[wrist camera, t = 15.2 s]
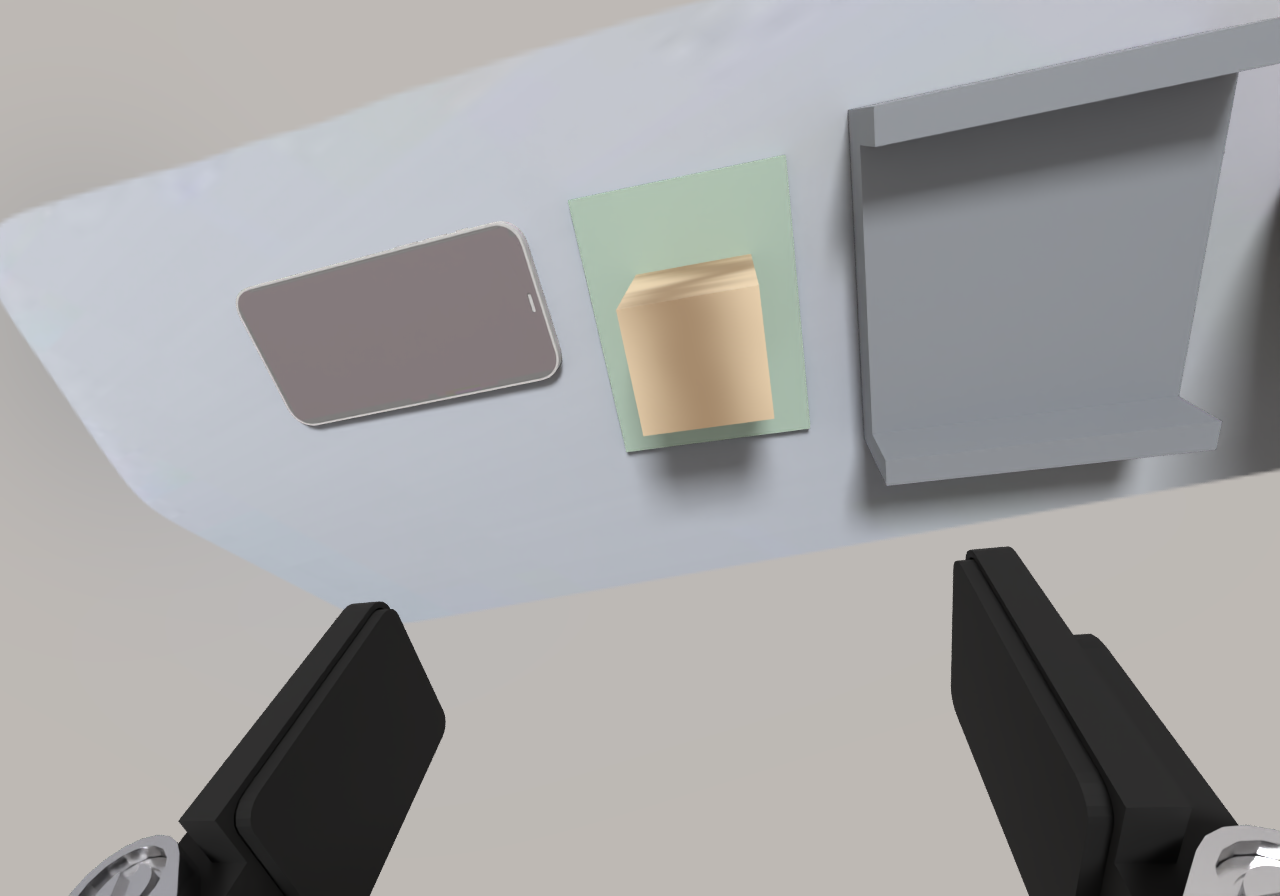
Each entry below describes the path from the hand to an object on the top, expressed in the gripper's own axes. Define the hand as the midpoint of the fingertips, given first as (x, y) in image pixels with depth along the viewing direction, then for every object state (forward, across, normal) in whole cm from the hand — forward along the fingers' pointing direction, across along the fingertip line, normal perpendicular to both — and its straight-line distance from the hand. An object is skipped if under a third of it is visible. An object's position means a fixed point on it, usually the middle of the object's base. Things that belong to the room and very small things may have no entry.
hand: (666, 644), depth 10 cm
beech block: (+20, 0, 0) cm, 20 cm away
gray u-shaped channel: (+20, -13, 0) cm, 24 cm away
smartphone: (+21, +14, -2) cm, 25 cm away
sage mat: (+20, 0, 0) cm, 20 cm away
